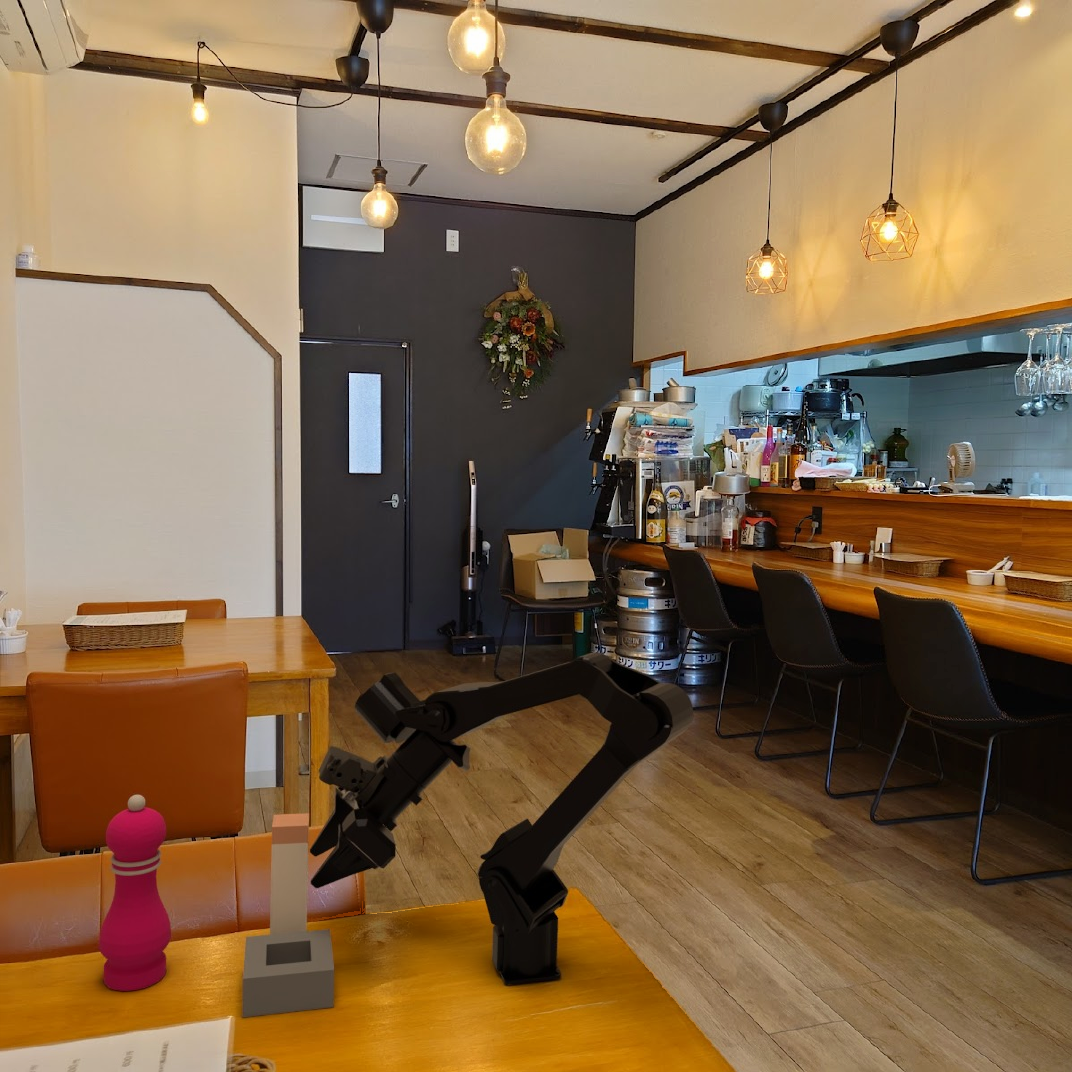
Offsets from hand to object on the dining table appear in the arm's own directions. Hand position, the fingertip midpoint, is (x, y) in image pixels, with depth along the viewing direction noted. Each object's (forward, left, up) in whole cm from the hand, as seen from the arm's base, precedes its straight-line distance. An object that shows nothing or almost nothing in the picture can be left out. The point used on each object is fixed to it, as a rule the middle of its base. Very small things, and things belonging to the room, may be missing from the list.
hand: (312, 869), depth 110 cm
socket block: (+3, +9, -9) cm, 13 cm away
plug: (+3, 0, -9) cm, 9 cm away
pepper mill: (+19, +3, -9) cm, 21 cm away
